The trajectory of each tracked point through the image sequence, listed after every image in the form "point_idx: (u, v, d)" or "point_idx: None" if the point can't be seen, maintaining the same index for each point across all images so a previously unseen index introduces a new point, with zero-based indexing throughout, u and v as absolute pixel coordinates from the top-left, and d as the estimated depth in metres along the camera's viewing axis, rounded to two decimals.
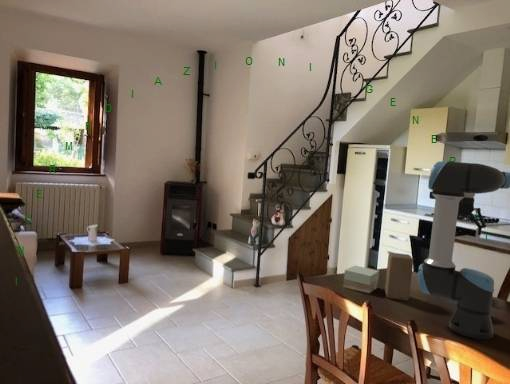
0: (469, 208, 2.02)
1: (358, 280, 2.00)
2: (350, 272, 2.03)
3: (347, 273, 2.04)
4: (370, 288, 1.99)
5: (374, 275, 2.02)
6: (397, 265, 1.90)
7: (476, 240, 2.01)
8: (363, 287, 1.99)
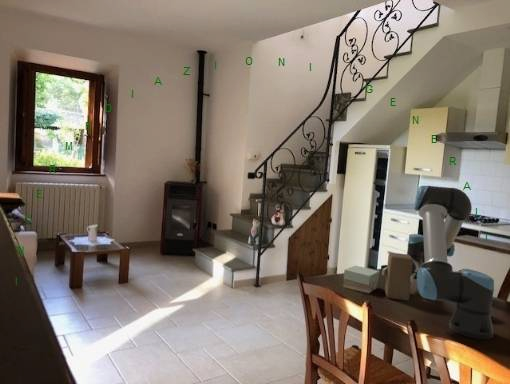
0: None
1: (357, 280, 2.00)
2: (349, 272, 2.03)
3: (347, 273, 2.04)
4: (370, 288, 1.99)
5: (374, 275, 2.02)
6: (397, 265, 1.90)
7: (412, 275, 1.89)
8: (363, 287, 1.99)
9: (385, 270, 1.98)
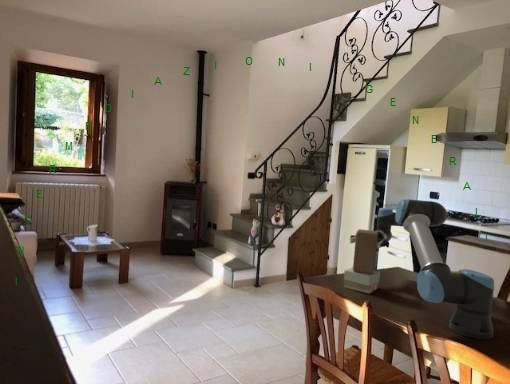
0: (378, 238, 2.17)
1: (357, 280, 2.00)
2: (350, 272, 2.03)
3: (347, 273, 2.04)
4: (370, 289, 1.99)
5: (374, 276, 2.01)
6: (362, 240, 2.00)
7: (378, 243, 2.02)
8: (364, 287, 1.99)
9: (353, 239, 2.11)
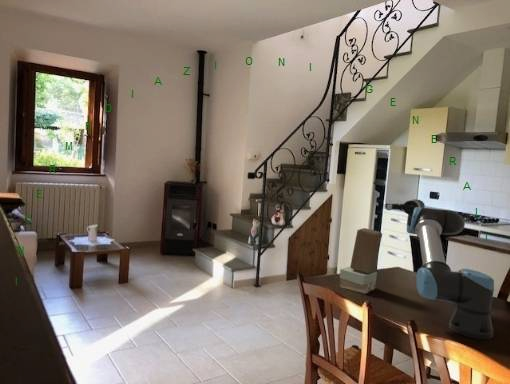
0: None
1: (352, 280, 2.00)
2: (345, 271, 2.03)
3: (342, 272, 2.04)
4: (367, 288, 1.98)
5: (369, 275, 2.00)
6: (361, 238, 2.00)
7: None
8: (360, 287, 1.98)
9: None
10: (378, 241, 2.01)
